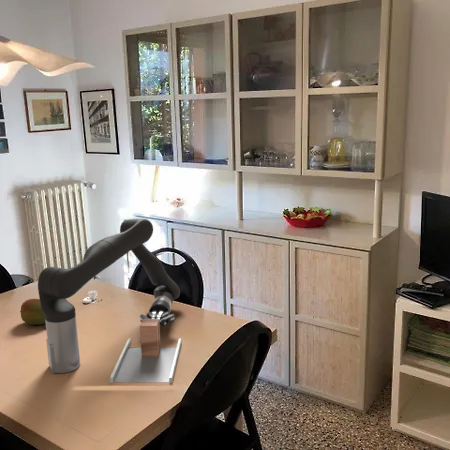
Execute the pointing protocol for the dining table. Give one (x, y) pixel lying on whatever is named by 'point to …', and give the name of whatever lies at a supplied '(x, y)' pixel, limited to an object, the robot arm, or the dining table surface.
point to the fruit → (32, 312)
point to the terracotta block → (150, 337)
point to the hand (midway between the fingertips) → (153, 328)
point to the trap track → (145, 365)
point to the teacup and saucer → (92, 297)
